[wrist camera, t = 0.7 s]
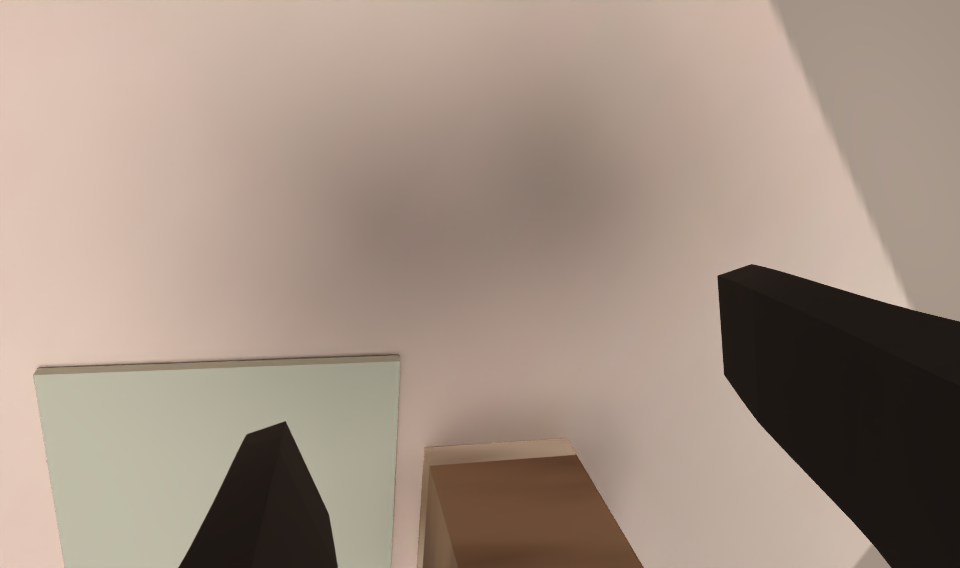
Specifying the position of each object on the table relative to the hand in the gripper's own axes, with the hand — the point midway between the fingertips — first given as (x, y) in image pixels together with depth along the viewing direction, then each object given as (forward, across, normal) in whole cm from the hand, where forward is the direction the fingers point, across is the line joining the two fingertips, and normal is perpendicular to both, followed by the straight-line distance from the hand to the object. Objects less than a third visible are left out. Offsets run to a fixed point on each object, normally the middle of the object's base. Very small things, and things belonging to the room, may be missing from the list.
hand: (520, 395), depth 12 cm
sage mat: (+10, +9, +9) cm, 16 cm away
